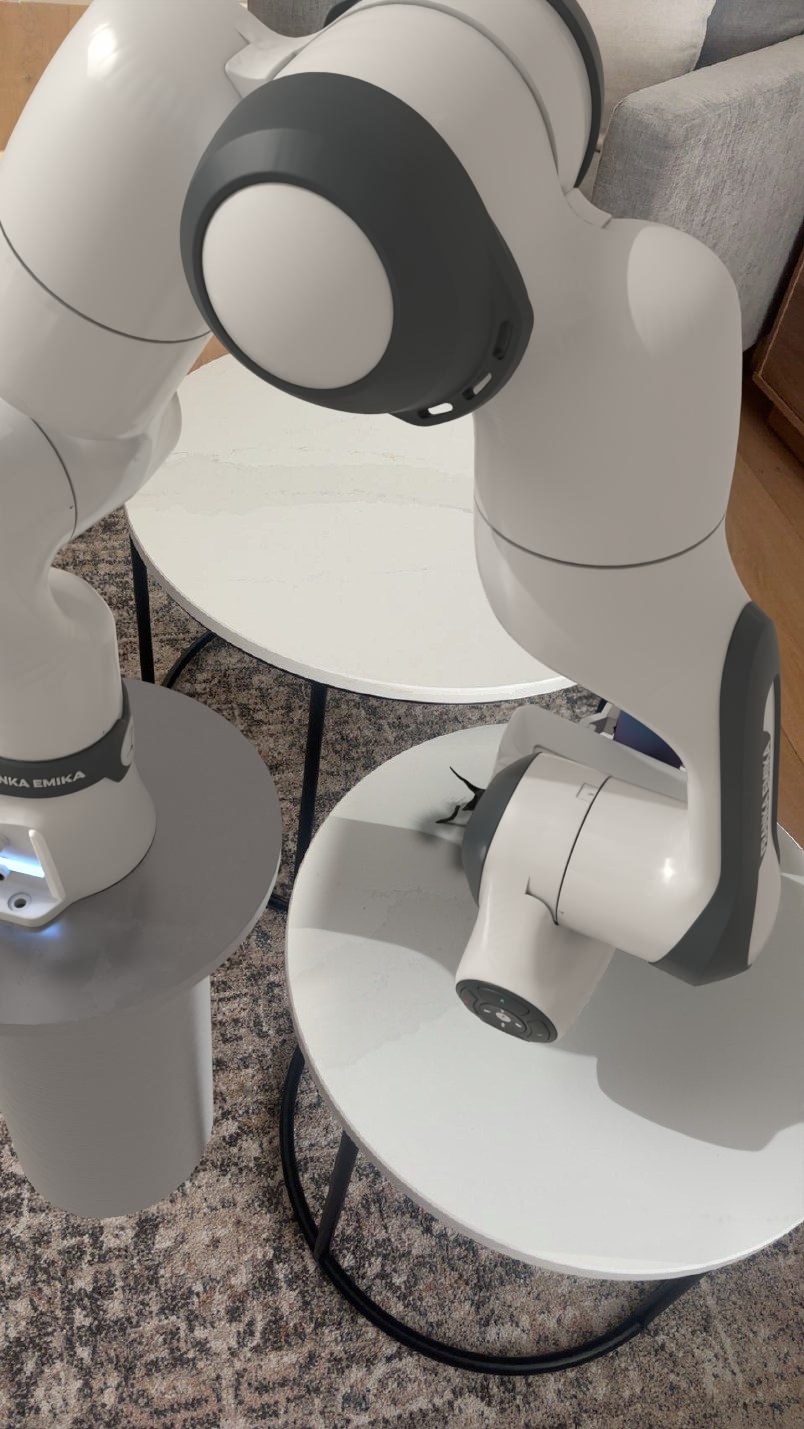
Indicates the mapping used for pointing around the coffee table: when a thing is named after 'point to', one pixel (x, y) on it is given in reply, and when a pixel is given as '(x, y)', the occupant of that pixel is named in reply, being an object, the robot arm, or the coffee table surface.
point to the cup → (644, 740)
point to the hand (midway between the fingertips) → (655, 729)
